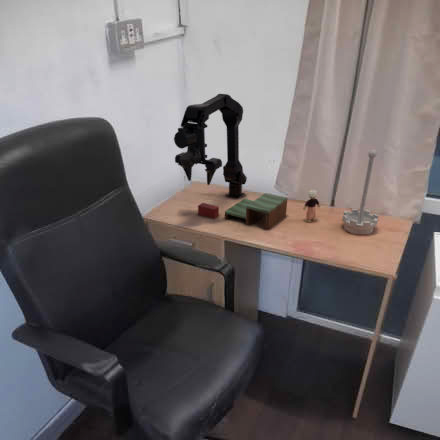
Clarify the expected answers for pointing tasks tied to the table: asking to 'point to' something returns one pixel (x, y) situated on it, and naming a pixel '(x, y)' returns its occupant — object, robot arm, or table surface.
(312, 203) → the grandmother figurine
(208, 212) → the red rectangular block
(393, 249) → the table surface
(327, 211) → the table surface
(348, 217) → the flag stand
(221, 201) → the table surface
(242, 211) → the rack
